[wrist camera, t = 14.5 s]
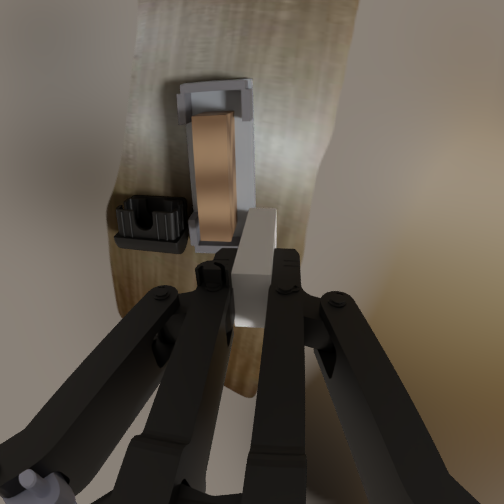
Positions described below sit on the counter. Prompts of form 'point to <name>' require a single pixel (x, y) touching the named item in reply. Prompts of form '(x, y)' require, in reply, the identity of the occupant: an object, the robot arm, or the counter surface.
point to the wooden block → (215, 174)
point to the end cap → (153, 224)
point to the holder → (241, 102)
